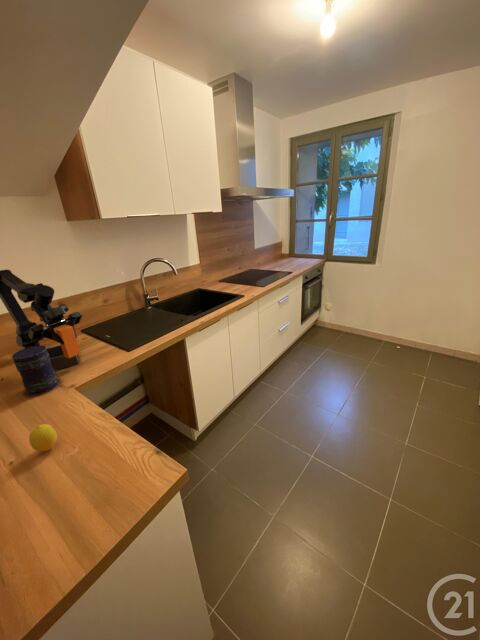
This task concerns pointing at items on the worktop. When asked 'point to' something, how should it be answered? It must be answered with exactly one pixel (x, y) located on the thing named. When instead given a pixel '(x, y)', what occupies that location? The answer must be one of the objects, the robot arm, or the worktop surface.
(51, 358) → the dark grey open box
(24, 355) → the storage jar
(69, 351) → the block
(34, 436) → the lemon
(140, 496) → the worktop surface
